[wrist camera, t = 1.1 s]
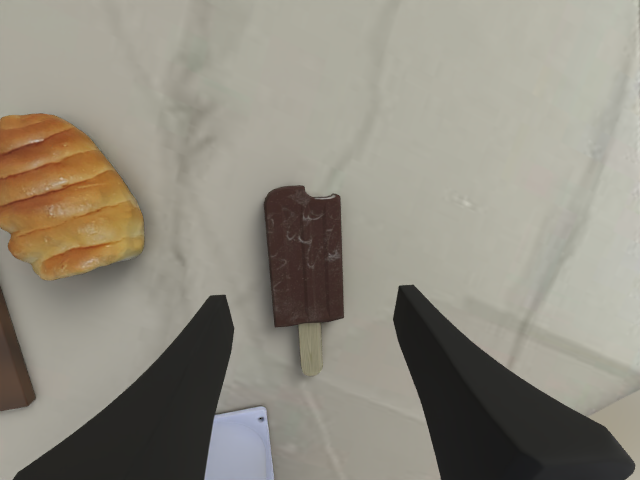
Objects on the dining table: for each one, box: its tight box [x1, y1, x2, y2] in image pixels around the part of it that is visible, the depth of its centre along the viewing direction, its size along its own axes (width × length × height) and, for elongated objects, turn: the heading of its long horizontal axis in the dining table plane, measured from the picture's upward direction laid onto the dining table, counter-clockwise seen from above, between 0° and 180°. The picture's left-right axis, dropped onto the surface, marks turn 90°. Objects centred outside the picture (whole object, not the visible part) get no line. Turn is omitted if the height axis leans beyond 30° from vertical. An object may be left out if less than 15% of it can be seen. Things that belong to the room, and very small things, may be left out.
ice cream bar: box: [264, 185, 344, 376], centre depth 22 cm, size 5×2×15 cm
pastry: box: [0, 114, 144, 280], centre depth 17 cm, size 9×7×4 cm
